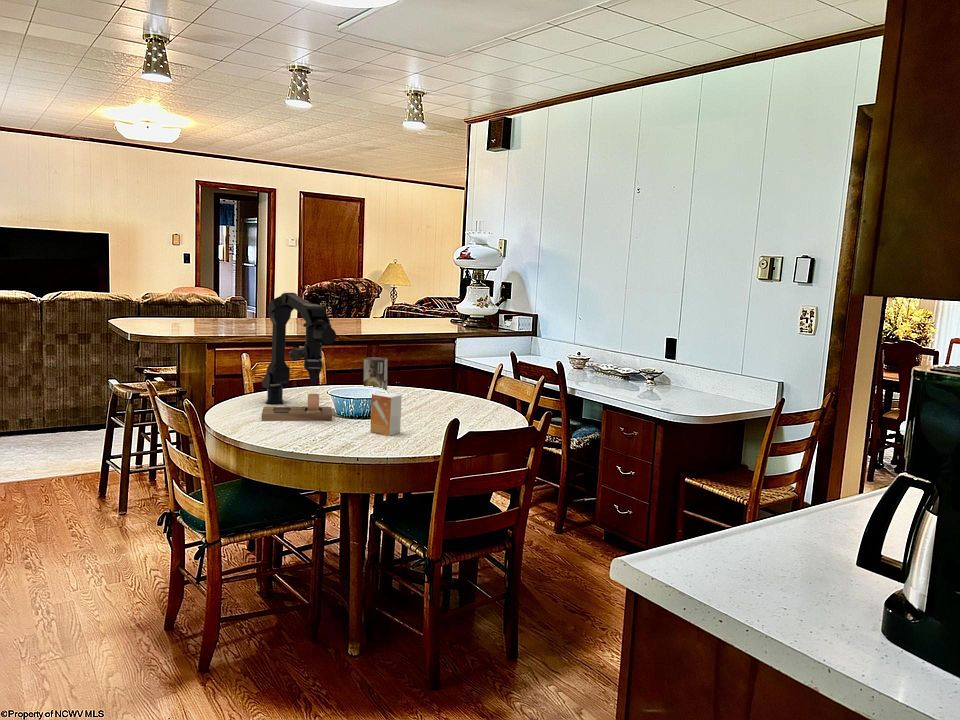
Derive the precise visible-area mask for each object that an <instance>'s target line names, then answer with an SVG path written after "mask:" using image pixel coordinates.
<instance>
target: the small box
mask: <svg viewBox="0 0 960 720" xmlns="http://www.w3.org/2000/svg"><path fill="white" fill-rule="evenodd" d="M402 399H403V397H402V394H398V393H390V392H387V393H385V392H380V393H375V394H372V397H371V406H370V407H371V408H370V409H371V410H370V433H375V434H380V435H385V436H389V437H390V436H393V435H396V434H400V433H401V423H402V422H401V418H402Z"/></svg>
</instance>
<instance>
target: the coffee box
mask: <svg viewBox="0 0 960 720" xmlns="http://www.w3.org/2000/svg"><path fill="white" fill-rule="evenodd" d="M388 360H389V358H388V357H373V356H371V357H367V356H366V357H365V358H364V359H363V386H373V387H379V388H383V389H385V390H387V391H388V371H389V370H388V365H389V361H388Z"/></svg>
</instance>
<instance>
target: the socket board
mask: <svg viewBox="0 0 960 720" xmlns="http://www.w3.org/2000/svg"><path fill="white" fill-rule="evenodd" d="M261 421H264V422H265V421H267V422H268V421H270V422H271V421H272V422H273V421H279V422H281V421H282V422H283V421H289V422H290V421H295V422H296V421H297V422H298V421H302V422H303V421H307V422H309V421H315V422H316V421H317V422H318V421H321V422H323V421H325V422H327V421H330V422H331V421H333V408H332V406H319V411H308V406H263V408H262V411H261Z"/></svg>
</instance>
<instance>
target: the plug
mask: <svg viewBox="0 0 960 720" xmlns="http://www.w3.org/2000/svg"><path fill="white" fill-rule="evenodd" d="M307 407H308V411H319V407H320V394H319V393H308V394H307Z"/></svg>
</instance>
